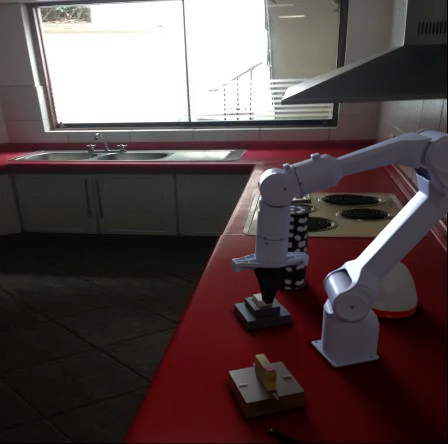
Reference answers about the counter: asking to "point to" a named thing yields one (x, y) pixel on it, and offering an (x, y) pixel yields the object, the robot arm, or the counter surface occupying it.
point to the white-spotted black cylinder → (297, 246)
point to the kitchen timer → (396, 294)
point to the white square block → (259, 300)
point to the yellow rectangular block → (265, 372)
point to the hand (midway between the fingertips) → (267, 301)
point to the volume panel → (265, 391)
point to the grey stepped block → (261, 314)
